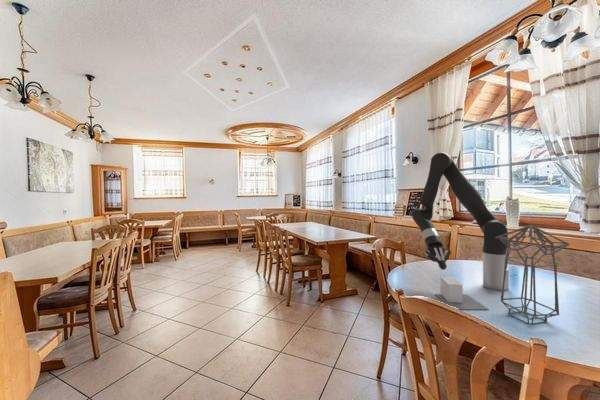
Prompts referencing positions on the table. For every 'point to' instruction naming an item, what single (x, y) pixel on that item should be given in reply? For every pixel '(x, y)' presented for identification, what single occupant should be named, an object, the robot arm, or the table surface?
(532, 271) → the geometric lantern
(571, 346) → the table surface
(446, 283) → the small box
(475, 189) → the robot arm
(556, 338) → the table surface
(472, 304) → the mat
